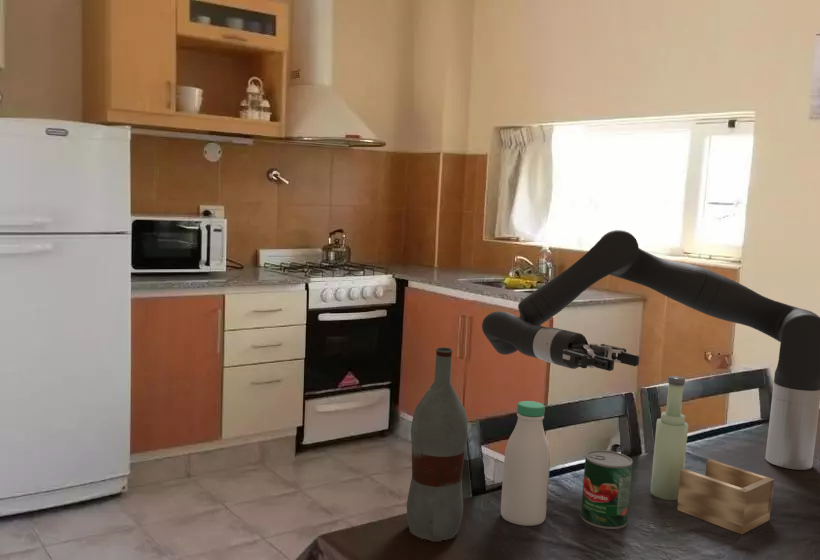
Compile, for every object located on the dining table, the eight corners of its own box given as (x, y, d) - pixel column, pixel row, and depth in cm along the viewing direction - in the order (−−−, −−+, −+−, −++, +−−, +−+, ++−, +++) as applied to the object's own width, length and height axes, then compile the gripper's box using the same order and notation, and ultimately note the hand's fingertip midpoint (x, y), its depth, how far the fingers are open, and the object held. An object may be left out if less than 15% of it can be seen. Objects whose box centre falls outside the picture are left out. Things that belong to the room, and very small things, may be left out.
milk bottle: (544, 530, 130) (554, 412, 127) (498, 523, 131) (506, 407, 129) (546, 511, 137) (555, 400, 135) (502, 505, 139) (509, 395, 136)
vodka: (417, 514, 133) (427, 340, 130) (468, 525, 130) (480, 347, 126) (396, 535, 125) (406, 350, 121) (451, 548, 121) (462, 358, 118)
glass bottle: (647, 487, 151) (657, 373, 148) (677, 489, 151) (687, 375, 148) (654, 498, 146) (664, 380, 143) (684, 501, 145) (696, 382, 142)
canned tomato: (628, 514, 138) (634, 454, 136) (625, 532, 130) (631, 469, 129) (583, 506, 140) (588, 447, 139) (577, 523, 133) (582, 461, 131)
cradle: (676, 510, 141) (680, 470, 140) (706, 497, 148) (710, 459, 147) (741, 534, 132) (746, 492, 131) (769, 520, 139) (774, 479, 138)
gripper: (539, 332, 161) (606, 347, 149) (582, 327, 170) (647, 341, 158) (536, 368, 162) (602, 386, 149) (579, 361, 171) (644, 377, 159)
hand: (625, 363), depth 154 cm, fingers open, 8 cm apart
